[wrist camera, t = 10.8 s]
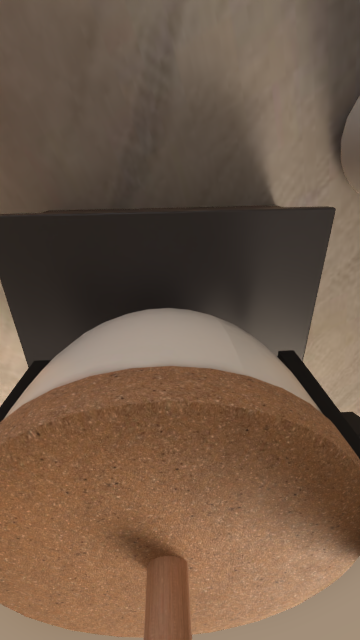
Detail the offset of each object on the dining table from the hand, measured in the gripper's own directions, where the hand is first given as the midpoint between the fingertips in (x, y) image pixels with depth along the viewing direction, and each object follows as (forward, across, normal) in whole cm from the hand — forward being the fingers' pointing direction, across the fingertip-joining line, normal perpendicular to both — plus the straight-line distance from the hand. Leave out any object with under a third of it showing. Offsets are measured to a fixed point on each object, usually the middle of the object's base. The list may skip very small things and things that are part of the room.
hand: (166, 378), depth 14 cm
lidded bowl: (+1, 0, 0) cm, 1 cm away
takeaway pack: (+10, 0, 0) cm, 10 cm away
